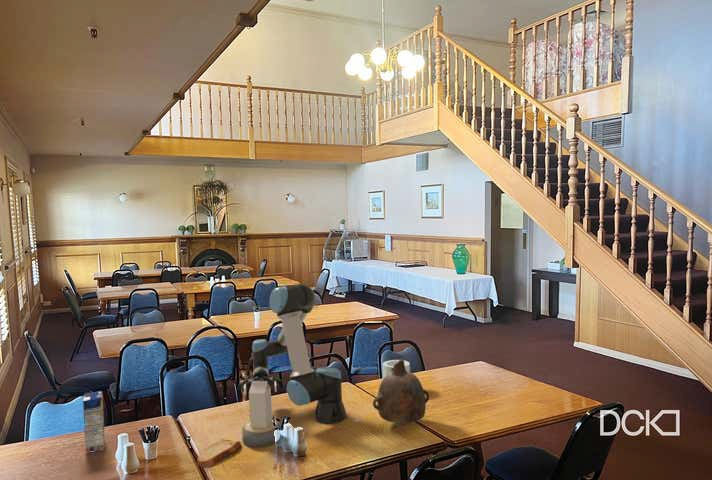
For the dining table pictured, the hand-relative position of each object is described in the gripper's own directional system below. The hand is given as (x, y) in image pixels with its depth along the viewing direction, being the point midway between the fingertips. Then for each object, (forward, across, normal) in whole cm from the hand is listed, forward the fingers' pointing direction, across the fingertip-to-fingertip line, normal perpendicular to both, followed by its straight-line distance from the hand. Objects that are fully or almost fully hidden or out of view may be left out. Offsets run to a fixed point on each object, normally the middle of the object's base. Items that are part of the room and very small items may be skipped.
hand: (260, 390), depth 219 cm
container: (-34, -72, -18) cm, 82 cm away
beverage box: (-2, +70, -18) cm, 72 cm away
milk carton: (+10, 0, -12) cm, 15 cm away
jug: (+12, -62, -18) cm, 65 cm away
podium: (+10, 0, -18) cm, 20 cm away
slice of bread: (+20, +17, -19) cm, 32 cm away
